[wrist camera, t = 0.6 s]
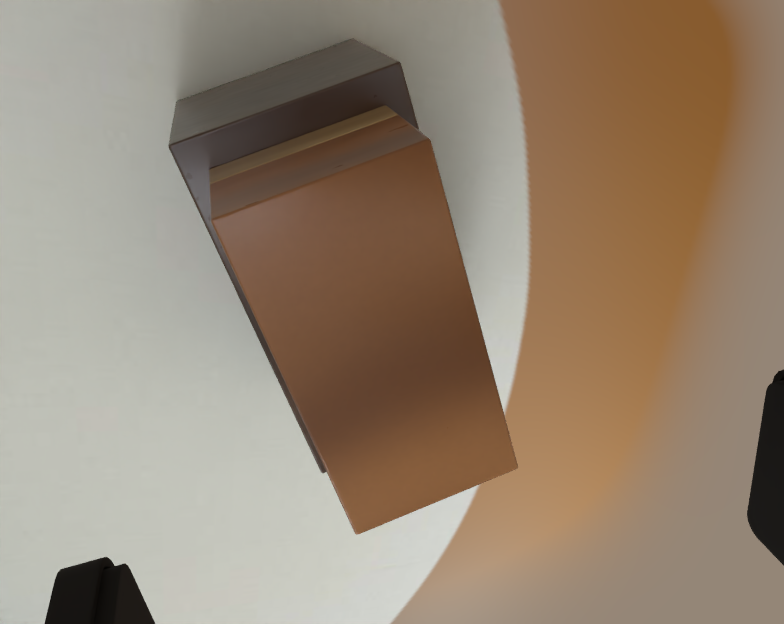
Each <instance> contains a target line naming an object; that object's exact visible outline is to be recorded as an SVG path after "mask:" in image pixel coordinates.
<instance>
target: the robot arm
mask: <svg viewBox="0 0 784 624" xmlns="http://www.w3.org/2000/svg"><path fill="white" fill-rule="evenodd" d="M747 516H748V522H749V524H750V527H751V529H752V531H753V532H754V534H755V535H756V537H757V538H758V539H759V540H760V541H761V542H762V543H763V544H764V545H765V546H766V547H767V549H769V550H770V552H771V553H772V554H773V555H774V556H775V557H776V558H777V559H778V560H779V561H780V562H781V563H782V564H783V565H784V370H782V371H778V373H777V374H776V375H775V376H774V379H773V382H772V384H770V385H769V386H768V388H767V391H766V396H765V402H764V409H763V416H762V422H761V428H760V434H759V441H758V447H757V453H756V460H755V466H754V473H753V480H752V486H751V492H750V498H749V505H748V511H747ZM45 624H155V622H154V620H153V618H152V616H151V614H150V611H149V609H148V607H147V605H146V603H145V601H144V598H143V596H142V594H141V592H140V590H139V588H138V585H137V583H136V581H135V579H134V577H133V575H132V573H131V570H130V569H129V567H128V565H126V564H122V565H118V566H114V564H113V563H112V561H111V560H110V559H109V558H108V557H104V558H100V559H97V560H93V561H89V562H86V563H82V564H78V565H75V566H71V567H68V568H64V569H61V570H60V571H59V572H58V573H57V576H56V579H55V582H54V586H53V591H52V595H51V599H50V603H49V608H48V612H47V616H46V620H45Z"/></svg>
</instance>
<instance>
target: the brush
mask: <svg viewBox="0 0 784 624" xmlns="http://www.w3.org/2000/svg"><path fill="white" fill-rule="evenodd" d="M209 186H210V212H211V223H212V225H213V228H214V230H215V232H216V234H217V236H218V238H219V241H220V243H221V245H222V247H223V249H224V251H225V254H226V256H227V258H228V260H229V262H230V264H231V266H232V269H233V271H234V273H235V275H236V277H237V279H238V282H239V284H240V286H241V288H242V290H243V292H244V295H245V297H246V299H247V301H248V303H249V305H250V307H251V310H252V312H253V314H254V316H255V318H256V320H257V323H258V325H259V327H260V329H261V331H262V333H263V336H264V338H265V340H266V342H267V344H268V346H269V348H270V351H271V353H272V355H273V357H274V359H275V361H276V364H277V366H278V368H279V370H280V372H281V374H282V377H283V379H284V381H285V383H286V385H287V387H288V389H289V392H290V394H291V396H292V398H293V400H294V402H295V405H296V407H297V409H298V411H299V413H300V415H301V418H302V420H303V422H304V424H305V426H306V428H307V430H308V433H309V435H310V437H311V439H312V441H313V443H314V446H315V448H316V450H317V452H318V454H319V456H320V459H321V461H322V463H323V465H324V467H325V469H326V471H327V474H328V476H329V478H330V480H331V482H332V484H333V487H334V489H335V491H336V493H337V495H338V497H339V500H340V502H341V504H342V506H343V508H344V510H345V512H346V515H347V517H348V519H349V521H350V523H351V525H352V528H353V530H354V532H355V533H356V534H360V533H363V532H365V531H368V530H370V529H372V528H375V527H377V526H380V525H382V524H384V523H387V522H389V521H392V520H394V519H397V518H399V517H401V516H404V515H406V514H409V513H411V512H413V511H416V510H418V509H421V508H423V507H426V506H428V505H430V504H433V503H435V502H438V501H440V500H443V499H445V498H447V497H450V496H452V495H455V494H457V493H459V492H462V491H464V490H467V489H469V488H472V487H474V486H476V485H479V484H481V483H483V482H486V481H488V480H491V479H493V478H496V477H498V476H501V475H503V474H505V473H508V472H510V471H513V470H515V469H517V468H518V465H517V461H516V457H515V454H514V450H513V446H512V442H511V439H510V435H509V431H508V428H507V424H506V420H505V416H504V412H503V409H502V405H501V401H500V397H499V394H498V390H497V386H496V382H495V379H494V375H493V371H492V368H491V364H490V360H489V356H488V353H487V349H486V345H485V341H484V338H483V334H482V330H481V327H480V323H479V319H478V315H477V312H476V308H475V304H474V300H473V297H472V293H471V289H470V285H469V282H468V278H467V274H466V271H465V267H464V263H463V259H462V256H461V252H460V248H459V244H458V241H457V237H456V233H455V229H454V226H453V222H452V218H451V215H450V211H449V207H448V203H447V200H446V196H445V192H444V188H443V185H442V181H441V177H440V173H439V170H438V166H437V162H436V159H435V155H434V151H433V147H432V144H431V140H430V139H429V138H428V137H427V136H425V135H424V134H423V133H421V132H420V131H419V130H417V129H416V128H415V127H414V126H412V125H411V124H410V123H408V122H407V121H406V120H405V119H403V118H402V117H401V116H399V115H398V114H397V113H395V112H394V111H393V110H392V109H390V108H389V107H388V106H386V105H384V106H382V107H379V108H376V109H373V110H371V111H368V112H365V113H362V114H360V115H357V116H354V117H351V118H349V119H346V120H343V121H341V122H338V123H335V124H332V125H330V126H327V127H324V128H321V129H319V130H316V131H313V132H310V133H308V134H305V135H302V136H299V137H297V138H294V139H291V140H289V141H286V142H283V143H280V144H278V145H275V146H272V147H269V148H267V149H264V150H261V151H258V152H256V153H253V154H250V155H248V156H245V157H242V158H239V159H237V160H234V161H231V162H228V163H226V164H223V165H220V166H217V167H215V168H212V169H210V170H209Z"/></svg>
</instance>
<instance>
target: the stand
mask: <svg viewBox="0 0 784 624" xmlns="http://www.w3.org/2000/svg"><path fill="white" fill-rule="evenodd" d="M384 105H386V106H388V107H389V108H390V109H392V110H393V111H394V112H395V113H397V114H398V115H399V116H401V117H402V118H403V119H405V120H406V121H407V122H408V123H410V124H411V125H412V126H414V127H415V128H416V129H417V130H419V128H418V124H417V121H416V117H415V113H414V110H413V106H412V102H411V99H410V95H409V91H408V88H407V84H406V81H405V77H404V73H403V70H402V66H401V63H400V62H399V61H397V60H395V59H393V58H391V57H389V56H387V55H385V54H383V53H381V52H379V51H377V50H375V49H373V48H371V47H369V46H367V45H365V44H363V43H361V42H359V41H357V40H355V39H350V40H347V41H344V42H342V43H339V44H336V45H333V46H330V47H328V48H325V49H322V50H319V51H316V52H314V53H311V54H308V55H305V56H302V57H300V58H297V59H294V60H291V61H288V62H286V63H283V64H280V65H277V66H274V67H272V68H269V69H266V70H263V71H260V72H257V73H255V74H252V75H249V76H246V77H243V78H241V79H238V80H235V81H232V82H229V83H227V84H224V85H221V86H218V87H215V88H213V89H210V90H207V91H204V92H201V93H199V94H196V95H193V96H190V97H187V98H185V99H182V100H179V101H177V102H176V106H175V112H174V118H173V123H172V129H171V135H170V141H169V149H170V151H171V153H172V155H173V157H174V160H175V162H176V164H177V166H178V168H179V170H180V172H181V174H182V177H183V179H184V181H185V183H186V185H187V187H188V189H189V192H190V194H191V196H192V198H193V200H194V202H195V204H196V206H197V209H198V211H199V213H200V215H201V217H202V219H203V221H204V223H205V226H206V228H207V230H208V232H209V234H210V236H211V238H212V241H213V243H214V245H215V247H216V249H217V251H218V253H219V255H220V258H221V260H222V262H223V264H224V266H225V268H226V270H227V273H228V275H229V277H230V279H231V281H232V283H233V285H234V287H235V290H236V292H237V294H238V296H239V298H240V300H241V302H242V304H243V307H244V309H245V311H246V313H247V315H248V317H249V319H250V322H251V324H252V326H253V328H254V330H255V332H256V334H257V336H258V339H259V341H260V343H261V345H262V347H263V349H264V351H265V354H266V356H267V358H268V360H269V362H270V364H271V366H272V368H273V371H274V373H275V375H276V377H277V379H278V381H279V383H280V385H281V388H282V390H283V392H284V394H285V396H286V398H287V400H288V403H289V405H290V407H291V409H292V411H293V413H294V415H295V417H296V420H297V422H298V424H299V426H300V428H301V430H302V432H303V435H304V437H305V439H306V441H307V443H308V445H309V447H310V449H311V452H312V454H313V456H314V458H315V460H316V462H317V464H318V466H319V469H320V471H321V472H322V473H325V472H327V471H326V469H325V467H324V465H323V463H322V461H321V459H320V456H319V454H318V452H317V450H316V448H315V446H314V443H313V441H312V439H311V437H310V435H309V433H308V430H307V428H306V426H305V424H304V422H303V420H302V418H301V415H300V413H299V411H298V409H297V407H296V405H295V402H294V400H293V398H292V396H291V394H290V392H289V389H288V387H287V385H286V383H285V381H284V379H283V377H282V374H281V372H280V370H279V368H278V366H277V364H276V361H275V359H274V357H273V355H272V353H271V351H270V348H269V346H268V344H267V342H266V340H265V338H264V336H263V333H262V331H261V329H260V327H259V325H258V323H257V320H256V318H255V316H254V314H253V312H252V310H251V307H250V305H249V303H248V301H247V299H246V297H245V295H244V292H243V290H242V288H241V286H240V284H239V282H238V279H237V277H236V275H235V273H234V271H233V269H232V266H231V264H230V262H229V260H228V258H227V256H226V254H225V251H224V249H223V247H222V245H221V243H220V241H219V238H218V236H217V234H216V232H215V230H214V228H213V225H212V223H211V212H210V186H209V170H210V169H212V168H215V167H217V166H220V165H223V164H226V163H228V162H231V161H234V160H237V159H239V158H242V157H245V156H248V155H250V154H253V153H256V152H258V151H261V150H264V149H267V148H269V147H272V146H275V145H278V144H280V143H283V142H286V141H289V140H291V139H294V138H297V137H299V136H302V135H305V134H308V133H310V132H313V131H316V130H319V129H321V128H324V127H327V126H330V125H332V124H335V123H338V122H341V121H343V120H346V119H349V118H351V117H354V116H357V115H360V114H362V113H365V112H368V111H371V110H373V109H376V108H379V107H382V106H384Z"/></svg>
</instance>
